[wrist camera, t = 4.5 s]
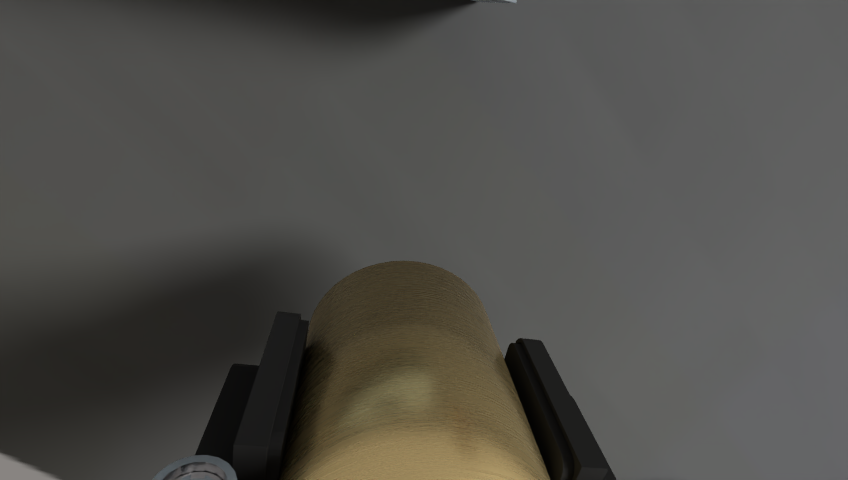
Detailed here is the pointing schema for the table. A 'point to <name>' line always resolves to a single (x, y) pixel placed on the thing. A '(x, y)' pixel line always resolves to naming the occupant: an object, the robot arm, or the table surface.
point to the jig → (500, 0)
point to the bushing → (406, 385)
